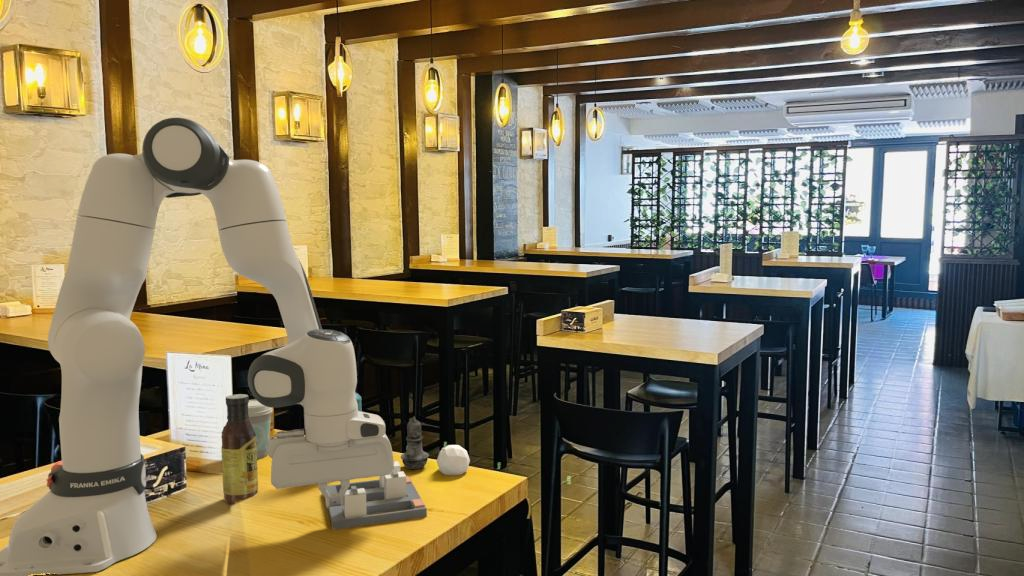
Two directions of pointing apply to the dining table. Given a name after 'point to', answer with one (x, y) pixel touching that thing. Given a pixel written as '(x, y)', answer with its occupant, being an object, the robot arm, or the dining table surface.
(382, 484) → the tab
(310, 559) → the dining table surface
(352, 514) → the tab
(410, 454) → the grey tower figurine
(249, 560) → the dining table surface
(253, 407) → the coffee cup
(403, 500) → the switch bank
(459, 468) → the ornament
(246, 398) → the sauce bottle
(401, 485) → the tab
